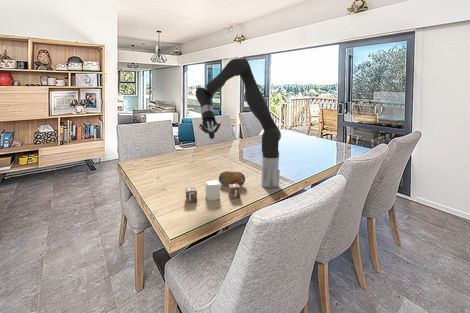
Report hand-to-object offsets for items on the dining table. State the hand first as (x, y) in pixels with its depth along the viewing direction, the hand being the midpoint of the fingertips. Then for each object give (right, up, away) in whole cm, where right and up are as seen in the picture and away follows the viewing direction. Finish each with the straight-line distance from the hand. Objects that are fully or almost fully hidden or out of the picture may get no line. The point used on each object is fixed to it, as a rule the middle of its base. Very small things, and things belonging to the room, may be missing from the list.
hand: (212, 138), depth 151 cm
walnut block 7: (-9, -32, -18) cm, 38 cm away
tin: (+11, -27, +4) cm, 30 cm away
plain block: (+1, -31, -13) cm, 34 cm away
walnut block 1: (+12, -31, -12) cm, 35 cm away
